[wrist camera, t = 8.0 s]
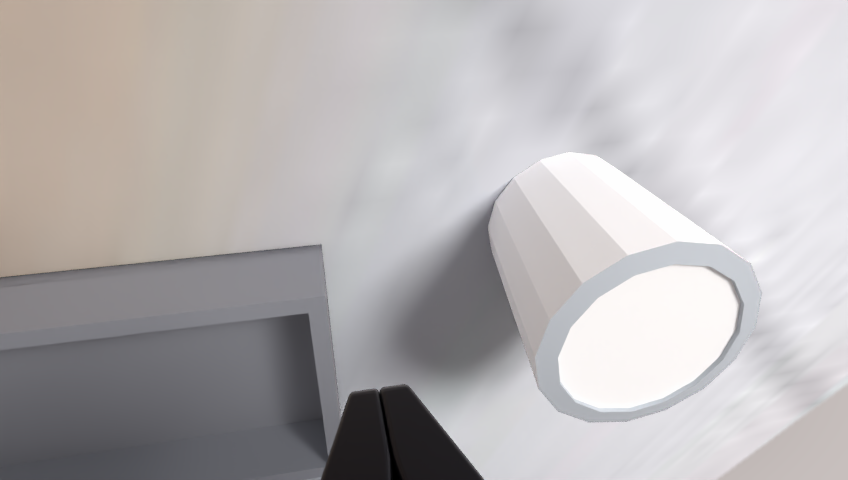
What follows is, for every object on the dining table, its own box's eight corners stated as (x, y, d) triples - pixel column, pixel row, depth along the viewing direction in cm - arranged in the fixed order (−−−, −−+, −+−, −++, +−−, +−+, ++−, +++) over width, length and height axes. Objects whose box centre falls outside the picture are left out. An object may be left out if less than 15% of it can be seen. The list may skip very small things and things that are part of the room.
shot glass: (624, 281, 25) (725, 408, 19) (467, 300, 24) (524, 441, 18) (660, 129, 21) (799, 230, 15) (476, 143, 20) (552, 258, 14)
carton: (340, 414, 26) (345, 472, 23) (-179, 491, 23) (-236, 569, 20) (321, 244, 21) (325, 296, 19) (-345, 313, 18) (-446, 386, 15)
